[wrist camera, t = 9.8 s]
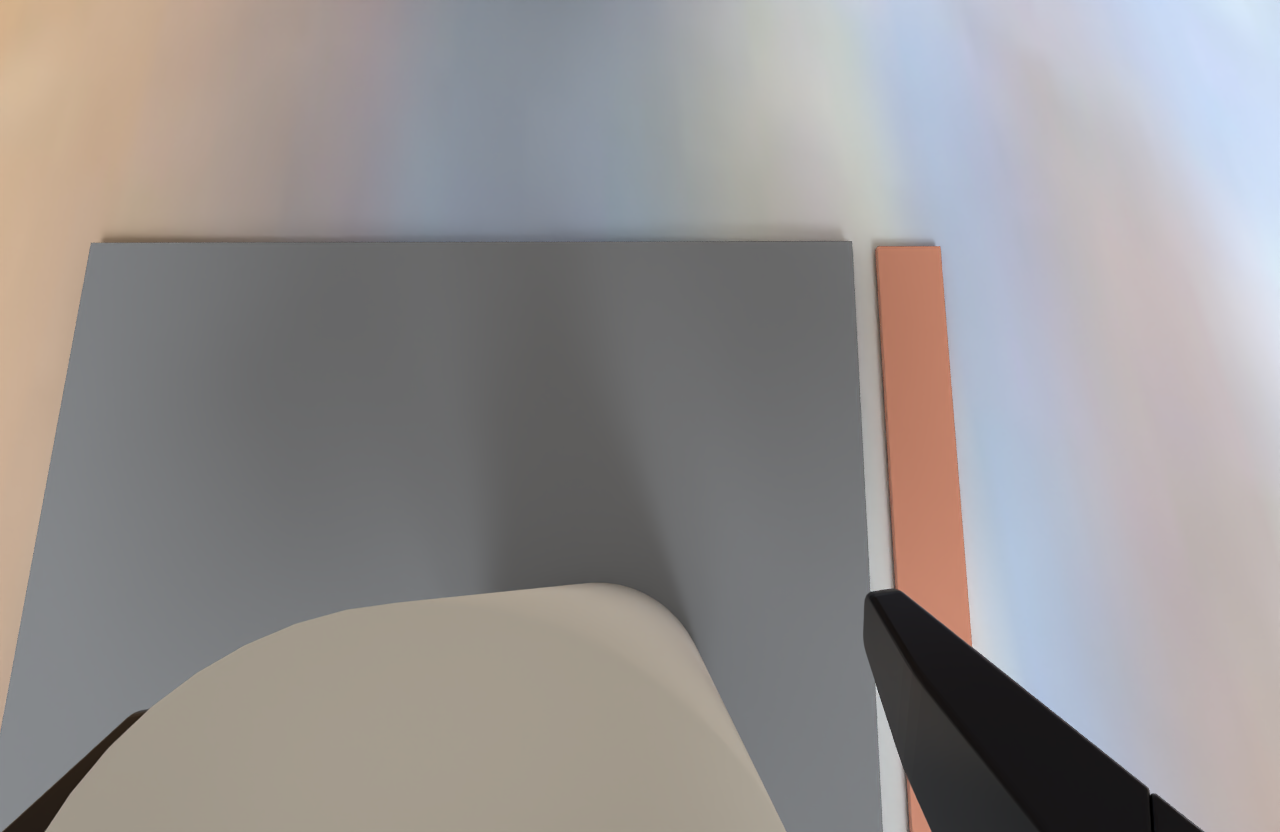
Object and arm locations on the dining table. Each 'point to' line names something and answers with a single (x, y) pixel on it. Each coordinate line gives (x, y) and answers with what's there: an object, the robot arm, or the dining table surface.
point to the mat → (458, 473)
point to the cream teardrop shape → (441, 728)
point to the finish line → (921, 444)
